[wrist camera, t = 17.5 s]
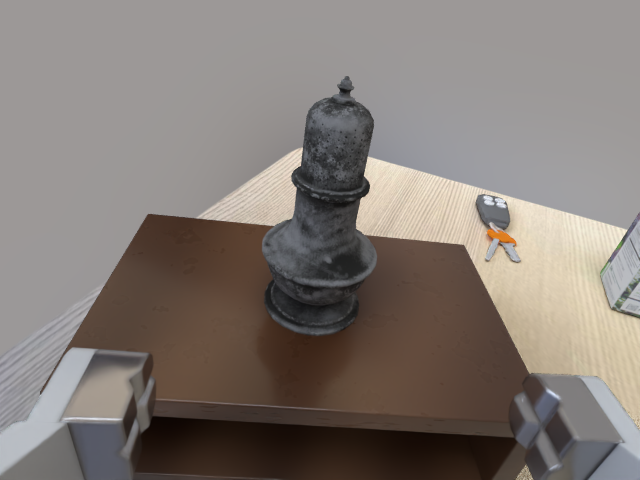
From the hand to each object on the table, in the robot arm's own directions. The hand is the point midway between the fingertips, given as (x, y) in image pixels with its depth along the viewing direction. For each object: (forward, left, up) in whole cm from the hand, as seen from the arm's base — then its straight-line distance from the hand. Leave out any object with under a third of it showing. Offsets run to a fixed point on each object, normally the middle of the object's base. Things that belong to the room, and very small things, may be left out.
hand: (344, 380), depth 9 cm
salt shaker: (0, +12, -9) cm, 15 cm away
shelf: (0, +12, -15) cm, 19 cm away
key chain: (+21, +33, -16) cm, 42 cm away
